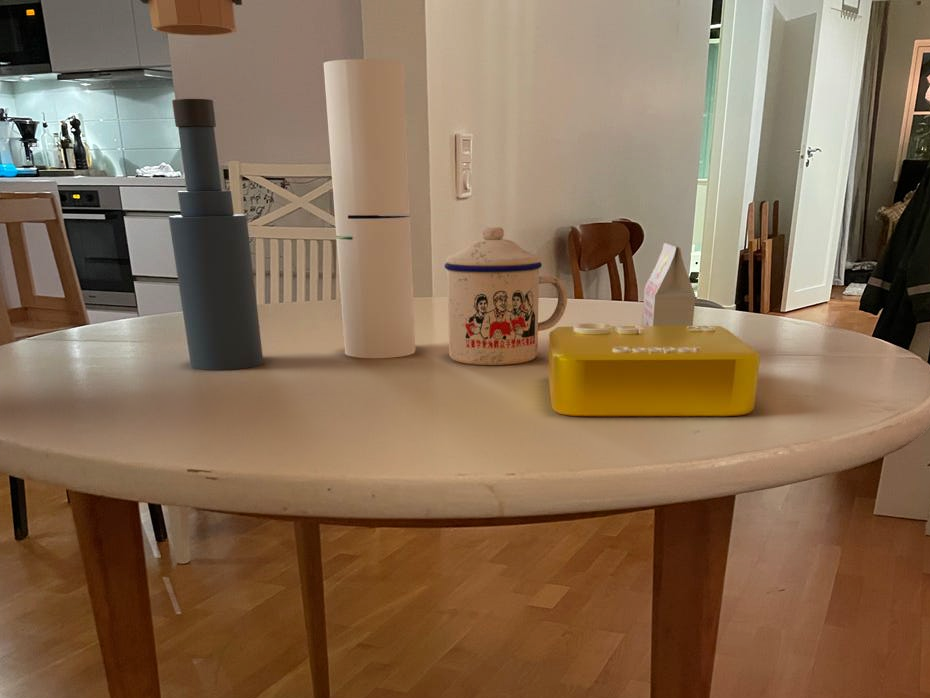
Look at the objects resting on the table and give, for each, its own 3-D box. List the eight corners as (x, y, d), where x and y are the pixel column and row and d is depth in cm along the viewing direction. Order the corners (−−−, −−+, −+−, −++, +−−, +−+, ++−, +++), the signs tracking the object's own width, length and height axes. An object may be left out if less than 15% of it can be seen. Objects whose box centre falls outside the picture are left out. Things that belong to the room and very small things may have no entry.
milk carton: (676, 349, 93) (685, 242, 88) (689, 361, 87) (699, 246, 82) (640, 350, 93) (647, 242, 88) (650, 362, 87) (658, 247, 82)
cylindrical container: (398, 359, 89) (383, 57, 78) (332, 356, 91) (309, 61, 80) (425, 347, 95) (415, 65, 84) (363, 344, 97) (345, 69, 86)
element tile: (552, 417, 67) (553, 350, 65) (547, 377, 80) (549, 320, 78) (759, 417, 66) (768, 349, 64) (720, 377, 80) (726, 319, 78)
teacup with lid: (461, 369, 85) (458, 231, 79) (436, 353, 92) (432, 226, 87) (582, 361, 88) (587, 227, 82) (548, 346, 95) (551, 223, 90)
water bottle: (187, 371, 85) (145, 97, 75) (194, 359, 91) (156, 103, 81) (262, 368, 86) (230, 97, 76) (264, 356, 92) (235, 103, 82)
